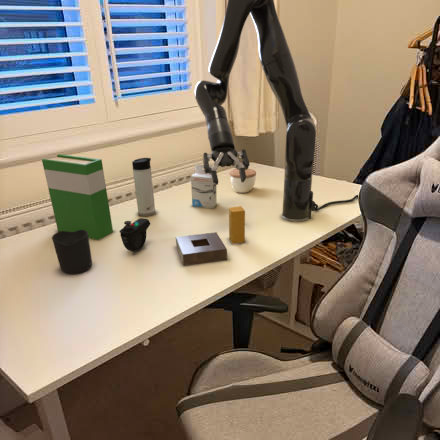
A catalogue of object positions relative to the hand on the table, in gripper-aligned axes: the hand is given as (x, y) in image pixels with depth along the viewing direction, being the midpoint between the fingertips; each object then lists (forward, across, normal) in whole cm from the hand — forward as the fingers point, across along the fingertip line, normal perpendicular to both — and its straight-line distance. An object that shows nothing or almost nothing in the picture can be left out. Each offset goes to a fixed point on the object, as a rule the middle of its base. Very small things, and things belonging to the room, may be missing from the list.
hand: (230, 182), depth 138 cm
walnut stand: (+21, -13, +2) cm, 25 cm away
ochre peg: (+17, 0, +6) cm, 18 cm away
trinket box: (-17, +16, +40) cm, 46 cm away
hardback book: (+2, -47, +22) cm, 52 cm away
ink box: (-8, -3, +31) cm, 32 cm away
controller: (+15, -31, +8) cm, 35 cm away
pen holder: (+21, -49, +3) cm, 53 cm away
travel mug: (-6, -25, +29) cm, 39 cm away
